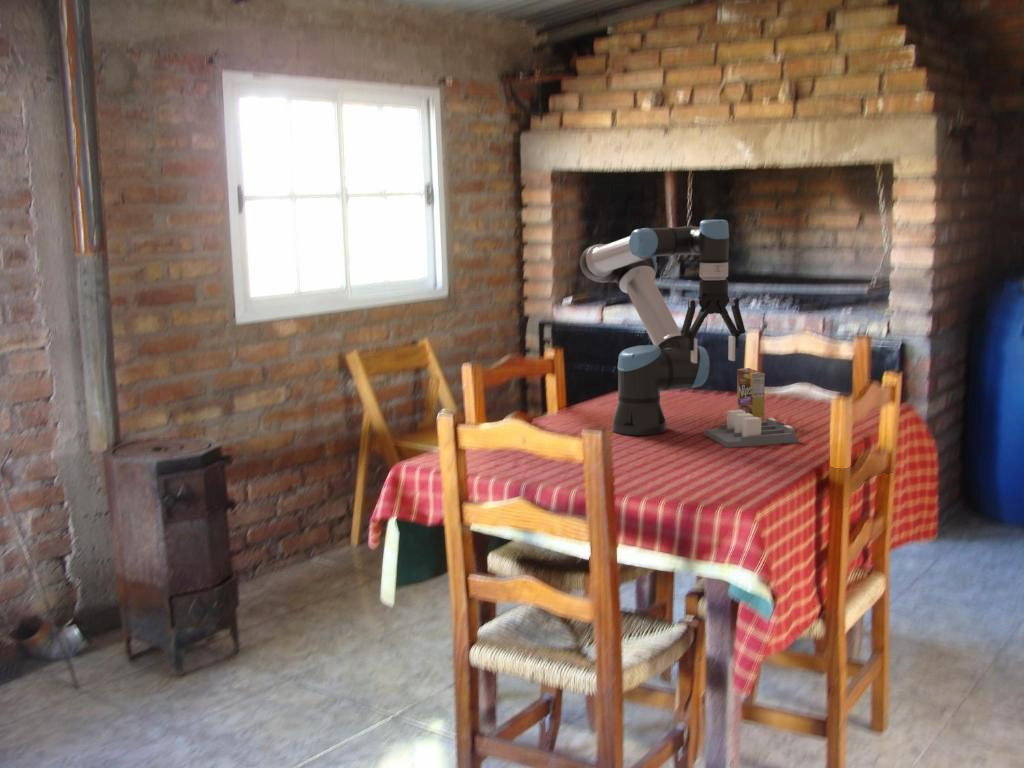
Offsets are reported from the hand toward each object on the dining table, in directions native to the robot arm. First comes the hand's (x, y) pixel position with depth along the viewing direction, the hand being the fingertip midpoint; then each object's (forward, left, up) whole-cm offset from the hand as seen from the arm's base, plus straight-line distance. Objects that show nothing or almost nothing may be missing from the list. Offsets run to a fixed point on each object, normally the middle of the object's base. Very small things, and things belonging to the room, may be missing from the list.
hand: (712, 361), depth 295 cm
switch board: (+9, -5, -21) cm, 23 cm away
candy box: (+17, +13, -21) cm, 30 cm away
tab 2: (+7, -5, -19) cm, 21 cm away
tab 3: (+7, -10, -19) cm, 23 cm away
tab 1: (+7, 0, -19) cm, 20 cm away
